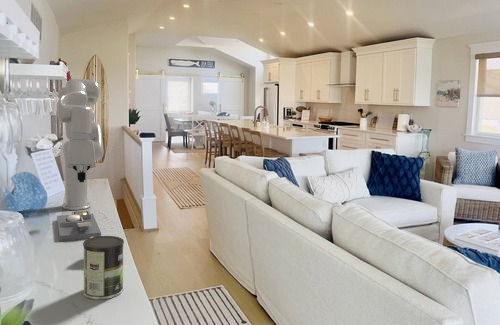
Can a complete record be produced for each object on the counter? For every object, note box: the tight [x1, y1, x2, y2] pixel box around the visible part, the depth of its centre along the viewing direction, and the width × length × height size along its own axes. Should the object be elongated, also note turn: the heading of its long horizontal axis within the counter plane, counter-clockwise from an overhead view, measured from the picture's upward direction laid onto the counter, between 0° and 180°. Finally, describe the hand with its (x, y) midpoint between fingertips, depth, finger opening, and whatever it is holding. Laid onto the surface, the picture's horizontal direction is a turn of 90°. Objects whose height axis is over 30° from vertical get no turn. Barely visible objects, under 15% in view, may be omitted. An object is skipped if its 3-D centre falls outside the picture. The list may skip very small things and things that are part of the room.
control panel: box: [56, 210, 102, 242], centre depth 167 cm, size 28×14×4 cm, turn 26°
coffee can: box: [82, 235, 125, 301], centre depth 114 cm, size 10×10×14 cm
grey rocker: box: [77, 222, 91, 227], centre depth 159 cm, size 9×4×1 cm, turn 27°
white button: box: [67, 214, 80, 222], centre depth 166 cm, size 5×5×2 cm
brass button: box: [75, 210, 87, 215], centre depth 176 cm, size 5×5×2 cm
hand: (81, 181), depth 172 cm, fingers closed
